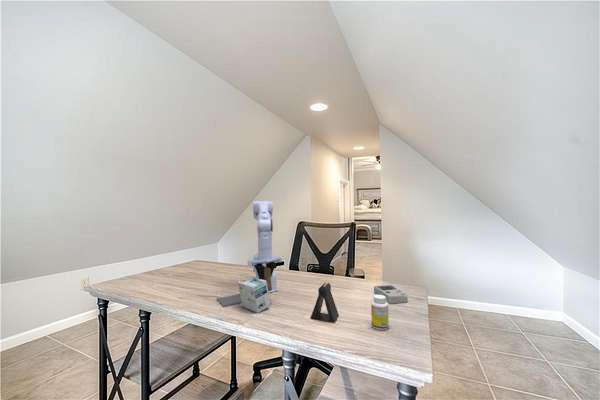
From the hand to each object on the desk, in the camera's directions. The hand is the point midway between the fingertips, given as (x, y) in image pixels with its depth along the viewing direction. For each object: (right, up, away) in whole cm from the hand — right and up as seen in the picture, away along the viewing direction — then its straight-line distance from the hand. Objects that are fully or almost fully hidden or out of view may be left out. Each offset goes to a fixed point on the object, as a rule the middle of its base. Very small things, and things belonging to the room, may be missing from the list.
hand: (265, 281), depth 109 cm
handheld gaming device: (+55, -10, +9) cm, 56 cm away
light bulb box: (-3, -10, -2) cm, 10 cm away
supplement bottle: (+41, -10, -20) cm, 47 cm away
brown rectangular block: (0, -4, 0) cm, 4 cm away
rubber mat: (-14, -10, +6) cm, 19 cm away
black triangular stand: (+23, -10, -12) cm, 28 cm away
